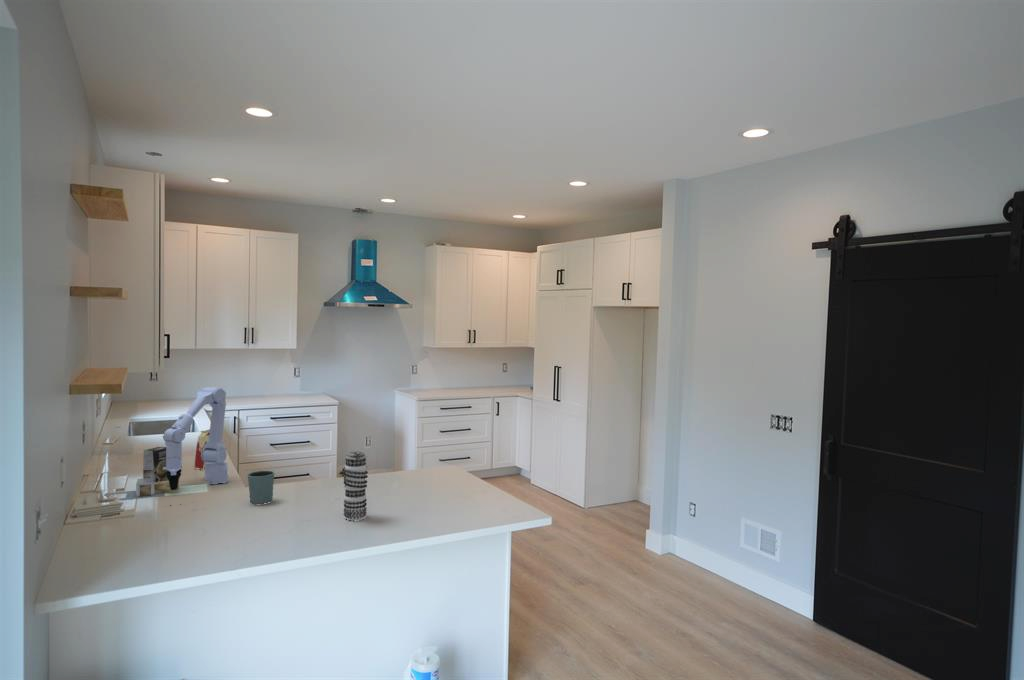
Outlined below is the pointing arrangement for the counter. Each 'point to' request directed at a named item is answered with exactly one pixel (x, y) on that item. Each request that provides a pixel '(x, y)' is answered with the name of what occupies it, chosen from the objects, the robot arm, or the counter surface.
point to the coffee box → (155, 464)
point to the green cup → (261, 486)
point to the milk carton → (201, 449)
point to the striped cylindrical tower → (355, 486)
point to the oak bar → (157, 488)
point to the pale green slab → (182, 490)
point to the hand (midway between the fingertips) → (173, 488)
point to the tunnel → (145, 482)
